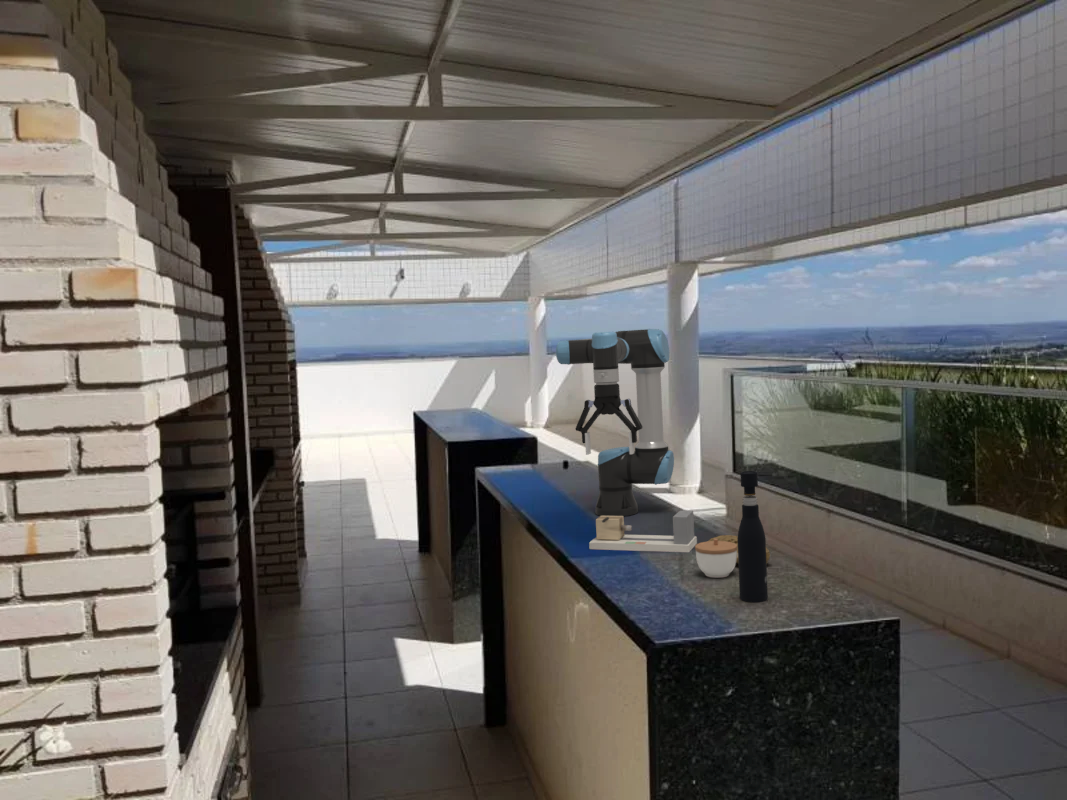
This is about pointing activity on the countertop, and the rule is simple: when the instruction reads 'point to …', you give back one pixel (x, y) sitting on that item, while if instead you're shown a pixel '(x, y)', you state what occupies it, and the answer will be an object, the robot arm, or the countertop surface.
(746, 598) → the wine bottle
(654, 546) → the bench
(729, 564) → the lidded jar
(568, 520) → the countertop surface
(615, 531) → the gauge carriage
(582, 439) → the robot arm
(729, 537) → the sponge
